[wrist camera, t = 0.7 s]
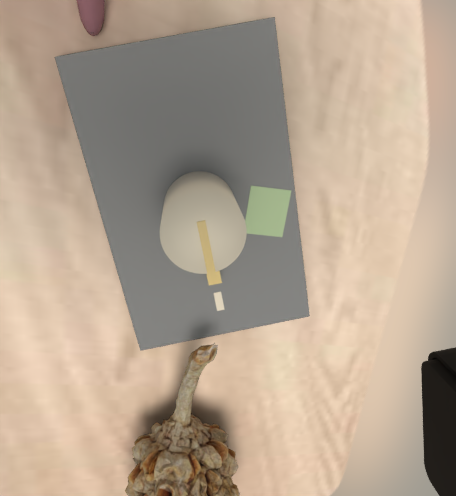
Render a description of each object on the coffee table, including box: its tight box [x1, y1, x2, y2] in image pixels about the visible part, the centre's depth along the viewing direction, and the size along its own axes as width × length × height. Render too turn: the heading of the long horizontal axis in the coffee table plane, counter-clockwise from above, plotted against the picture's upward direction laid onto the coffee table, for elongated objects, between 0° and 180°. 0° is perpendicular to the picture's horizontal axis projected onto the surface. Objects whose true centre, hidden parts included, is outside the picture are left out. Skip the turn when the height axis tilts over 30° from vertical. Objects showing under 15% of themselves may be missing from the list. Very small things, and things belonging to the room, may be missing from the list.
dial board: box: [55, 17, 310, 351], centre depth 32 cm, size 22×14×2 cm, turn 10°
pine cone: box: [125, 343, 240, 496], centre depth 35 cm, size 22×10×10 cm, turn 177°
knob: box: [160, 171, 247, 285], centre depth 28 cm, size 8×5×7 cm, turn 10°
